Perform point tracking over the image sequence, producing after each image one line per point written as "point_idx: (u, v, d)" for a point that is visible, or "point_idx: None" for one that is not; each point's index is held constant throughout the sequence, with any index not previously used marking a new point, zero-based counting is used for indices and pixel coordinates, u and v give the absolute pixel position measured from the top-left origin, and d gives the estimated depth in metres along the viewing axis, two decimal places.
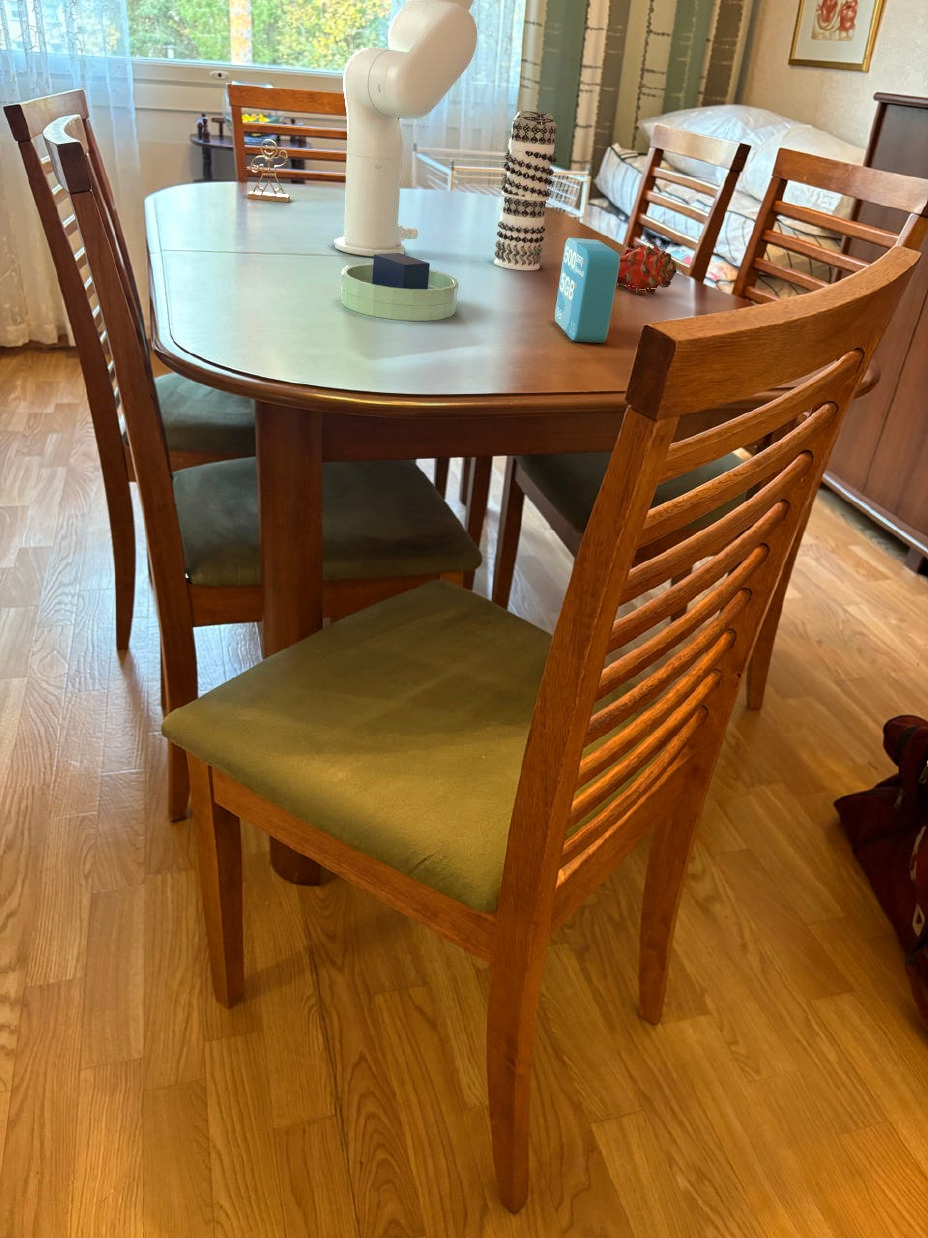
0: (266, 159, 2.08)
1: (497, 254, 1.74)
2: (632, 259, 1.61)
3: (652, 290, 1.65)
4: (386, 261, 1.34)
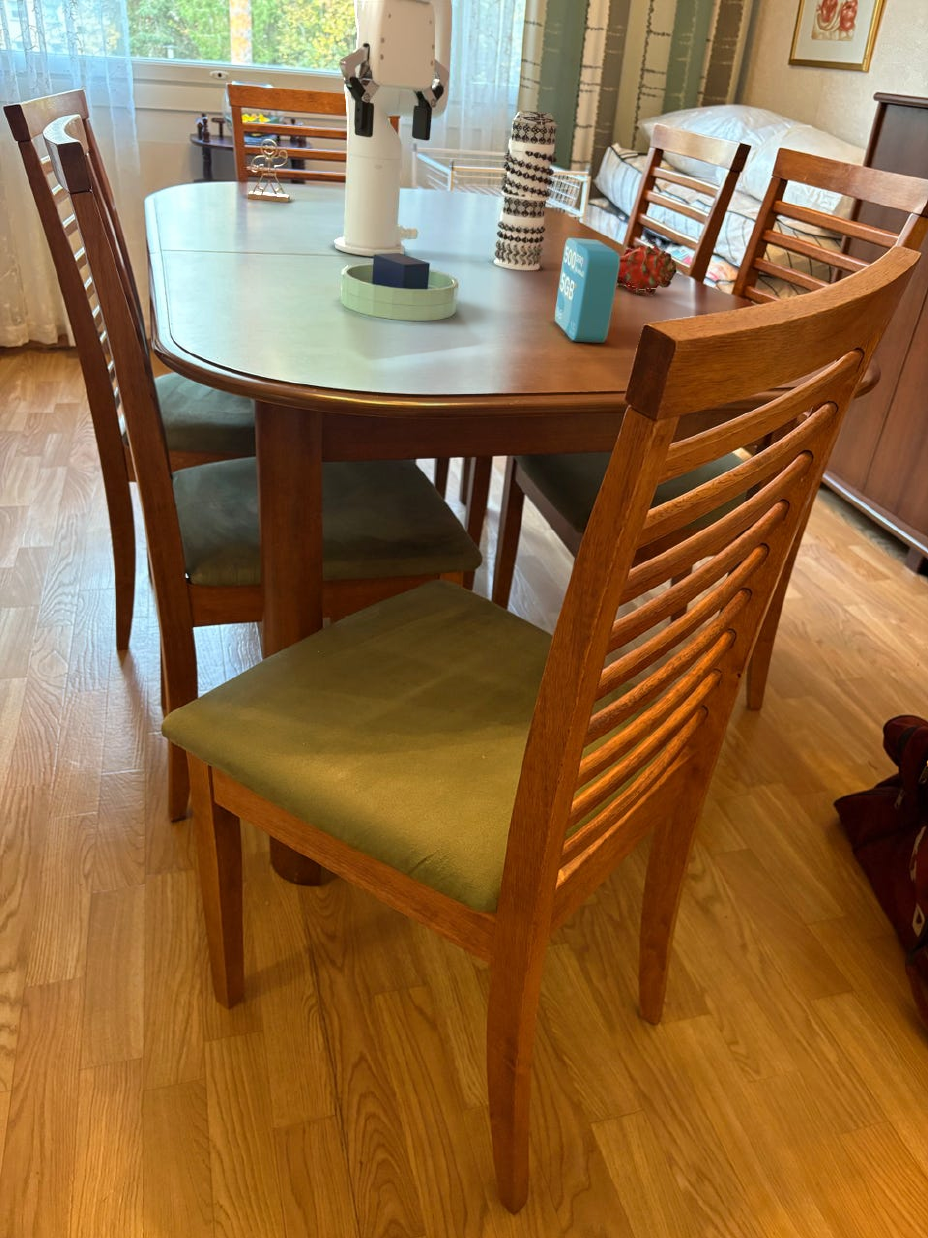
0: (266, 159, 2.08)
1: (497, 254, 1.74)
2: (632, 259, 1.61)
3: (652, 290, 1.65)
4: (386, 261, 1.34)
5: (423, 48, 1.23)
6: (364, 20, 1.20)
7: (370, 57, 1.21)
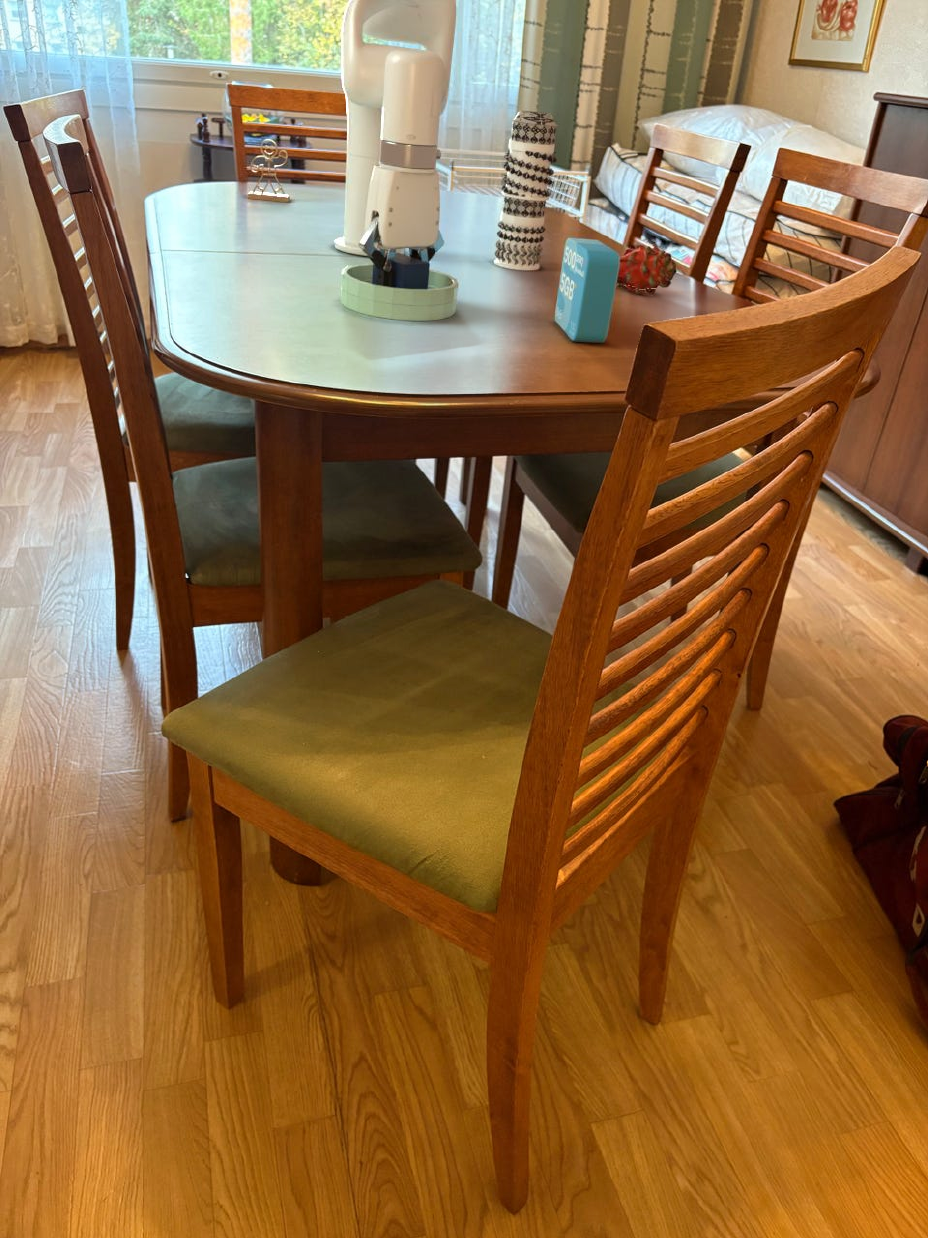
0: (266, 159, 2.08)
1: (497, 254, 1.74)
2: (632, 259, 1.61)
3: (652, 290, 1.65)
4: None
5: (428, 211, 1.31)
6: (373, 190, 1.28)
7: (379, 224, 1.29)
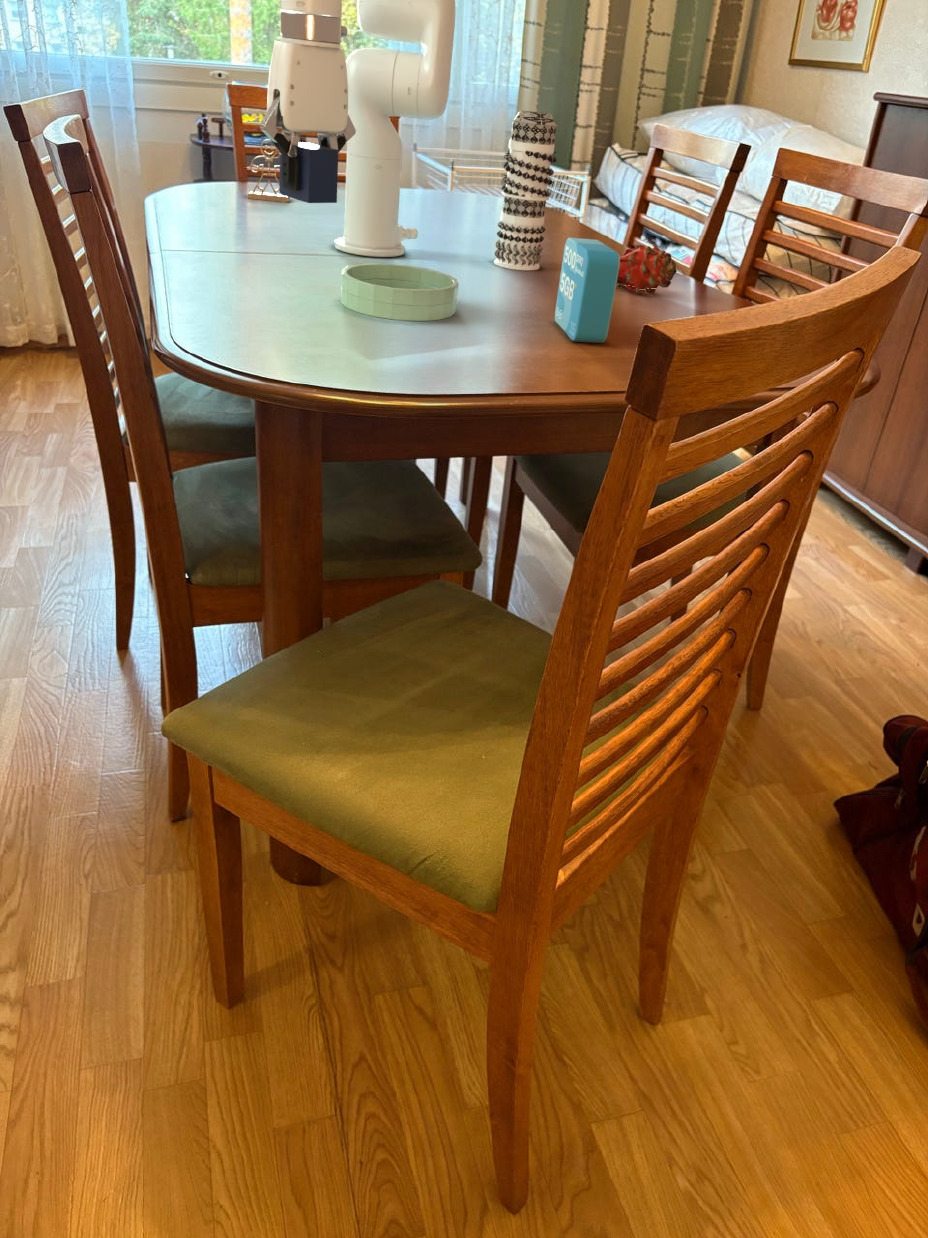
0: (266, 159, 2.08)
1: (497, 254, 1.74)
2: (632, 259, 1.61)
3: (652, 290, 1.65)
4: None
5: (335, 93, 1.24)
6: (274, 66, 1.20)
7: (280, 103, 1.21)
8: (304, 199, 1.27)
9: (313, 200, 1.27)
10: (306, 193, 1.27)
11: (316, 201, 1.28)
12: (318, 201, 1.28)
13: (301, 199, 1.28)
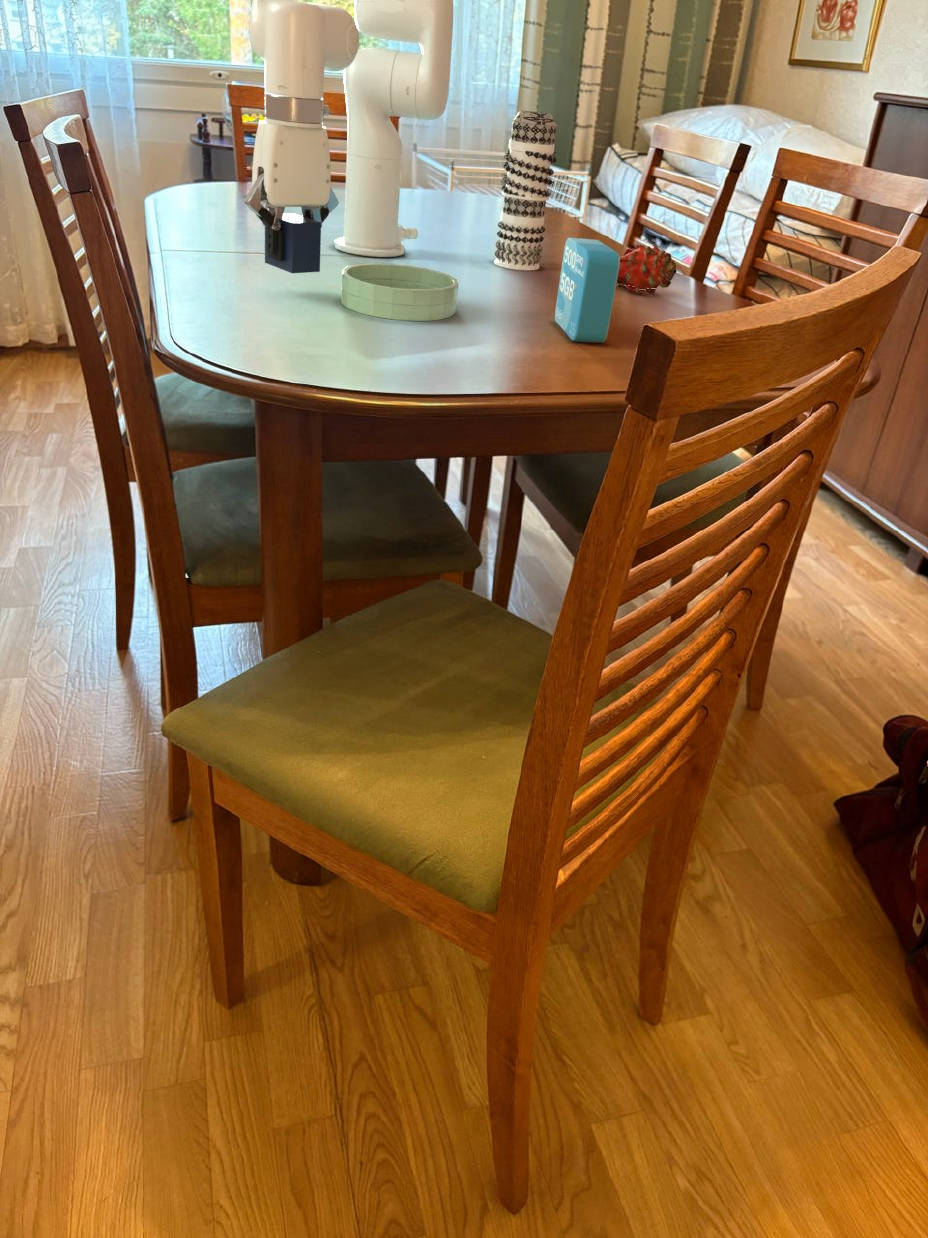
0: None
1: (497, 254, 1.74)
2: (632, 259, 1.61)
3: (652, 290, 1.65)
4: None
5: (317, 169, 1.28)
6: (258, 145, 1.25)
7: (264, 180, 1.25)
8: (288, 269, 1.32)
9: (296, 270, 1.32)
10: (289, 264, 1.31)
11: (299, 271, 1.32)
12: (301, 271, 1.32)
13: (285, 269, 1.32)
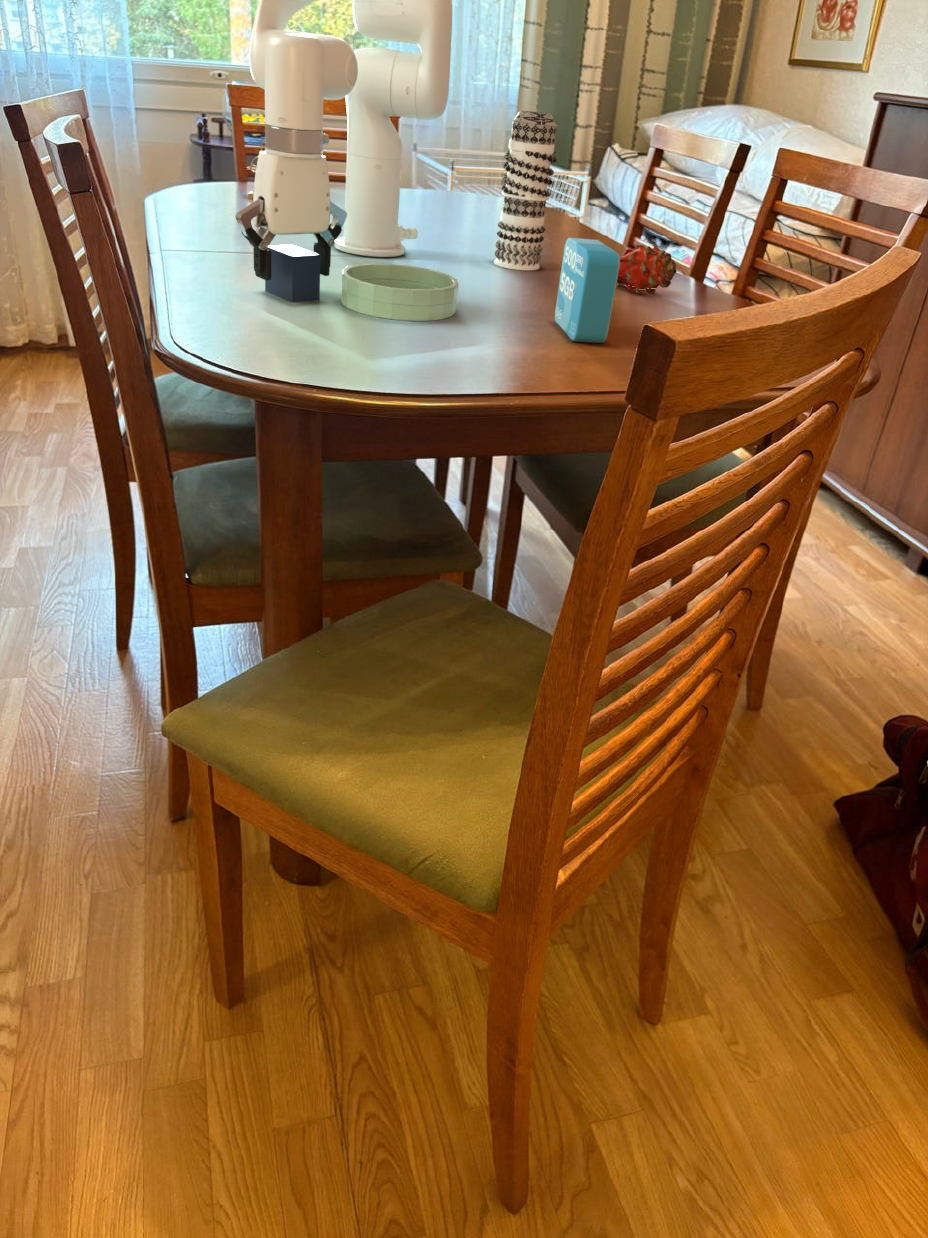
0: None
1: (497, 254, 1.74)
2: (632, 259, 1.61)
3: (652, 290, 1.65)
4: (276, 252, 1.33)
5: (317, 197, 1.30)
6: (259, 175, 1.27)
7: (265, 210, 1.28)
8: None
9: None
10: (289, 296, 1.33)
11: None
12: None
13: None
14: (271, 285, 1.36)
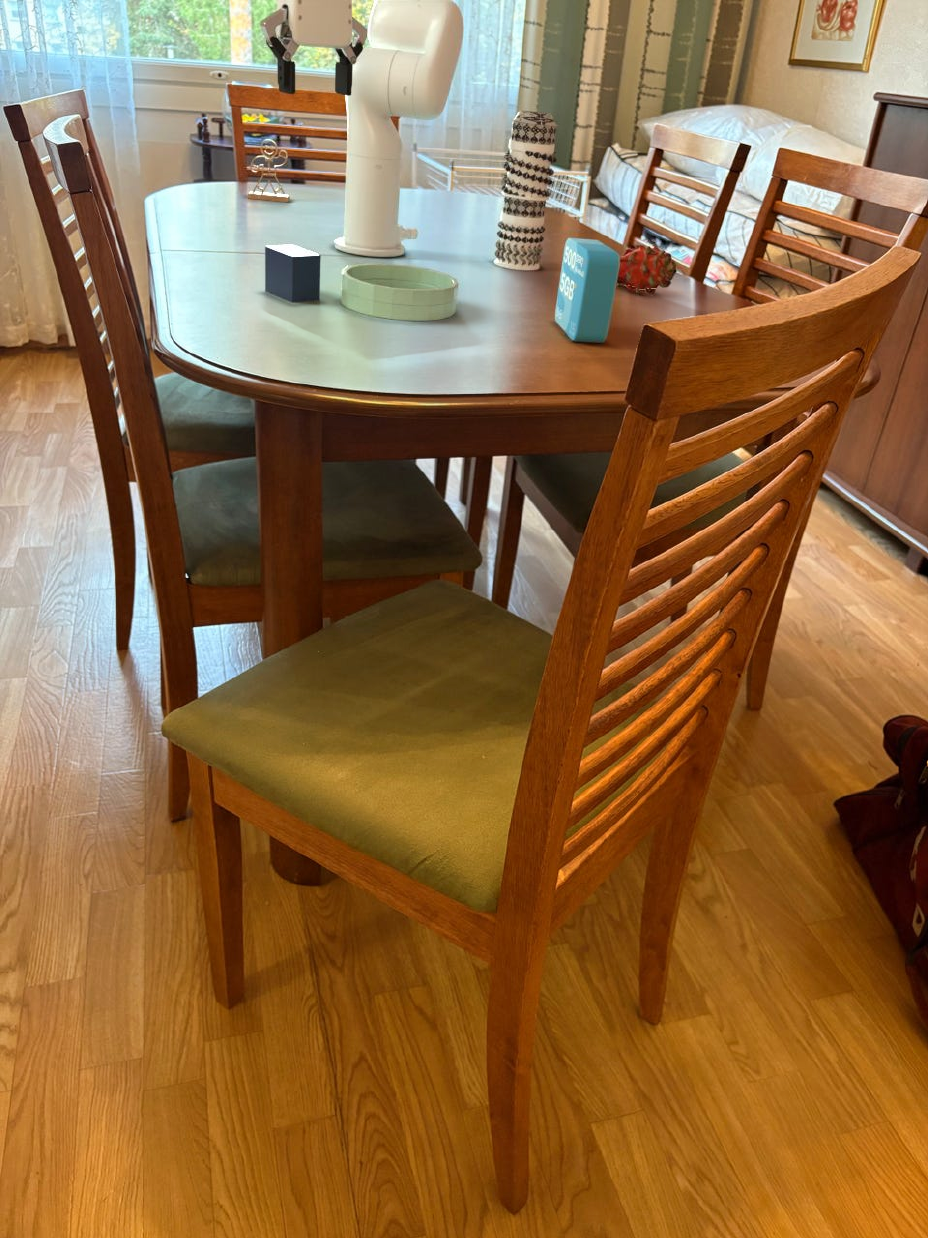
0: (266, 159, 2.08)
1: (497, 254, 1.74)
2: (632, 259, 1.61)
3: (652, 290, 1.65)
4: (276, 252, 1.33)
5: (340, 8, 1.32)
6: None
7: (289, 18, 1.29)
8: None
9: None
10: (289, 296, 1.33)
11: None
12: None
13: None
14: (271, 285, 1.36)
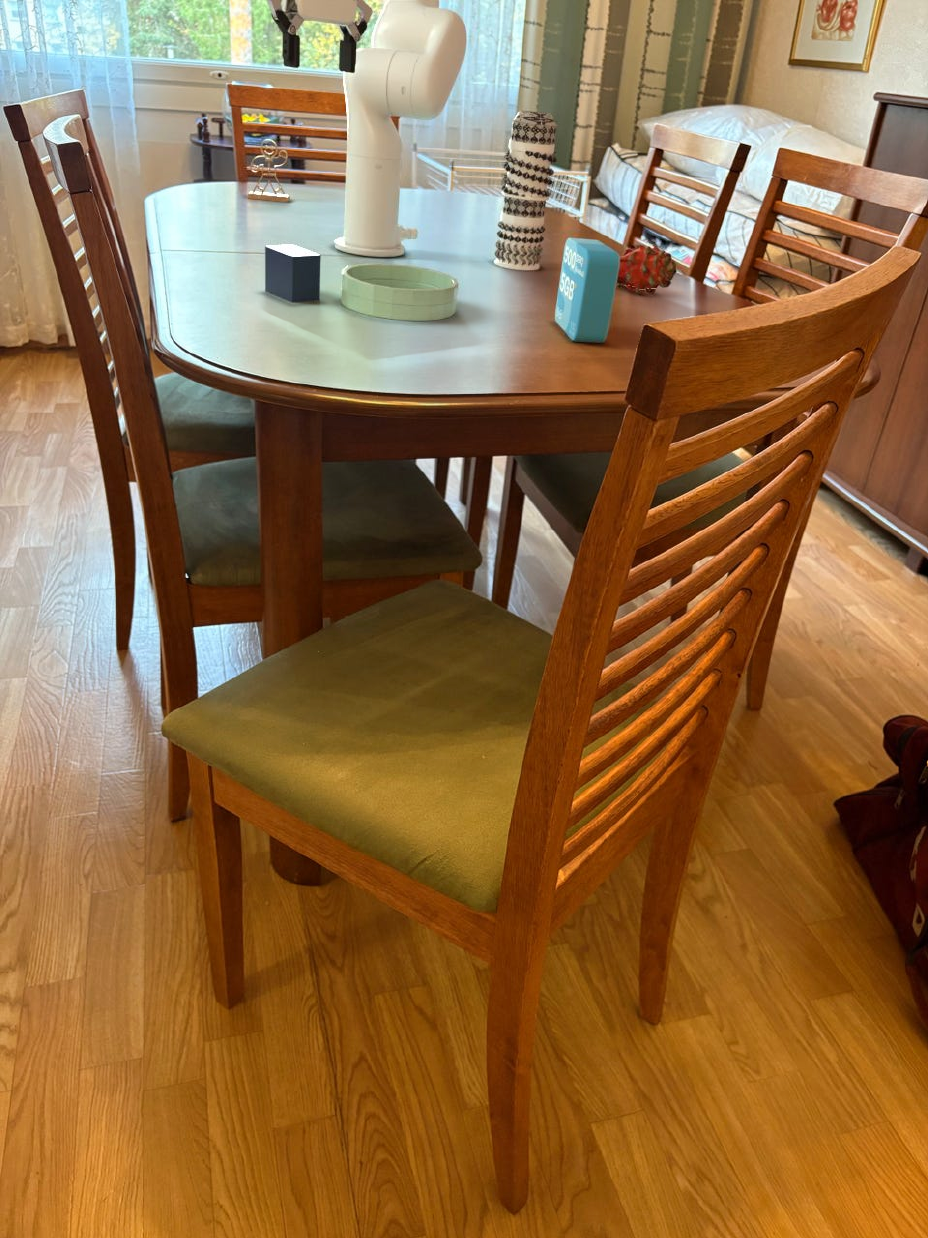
0: (266, 159, 2.08)
1: (497, 254, 1.74)
2: (632, 259, 1.61)
3: (652, 290, 1.65)
4: (276, 252, 1.33)
5: None
6: None
7: None
8: None
9: None
10: (289, 296, 1.33)
11: None
12: None
13: None
14: (271, 285, 1.36)
